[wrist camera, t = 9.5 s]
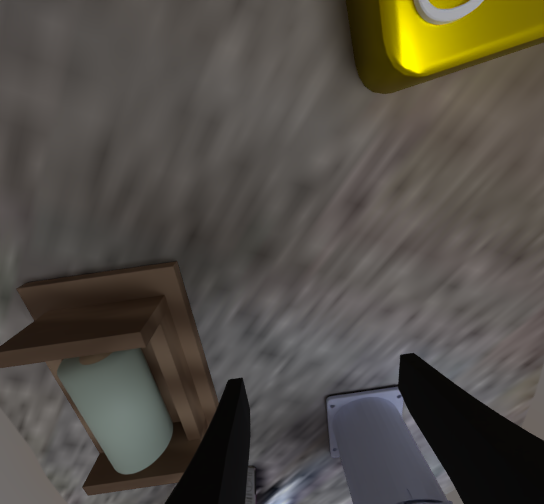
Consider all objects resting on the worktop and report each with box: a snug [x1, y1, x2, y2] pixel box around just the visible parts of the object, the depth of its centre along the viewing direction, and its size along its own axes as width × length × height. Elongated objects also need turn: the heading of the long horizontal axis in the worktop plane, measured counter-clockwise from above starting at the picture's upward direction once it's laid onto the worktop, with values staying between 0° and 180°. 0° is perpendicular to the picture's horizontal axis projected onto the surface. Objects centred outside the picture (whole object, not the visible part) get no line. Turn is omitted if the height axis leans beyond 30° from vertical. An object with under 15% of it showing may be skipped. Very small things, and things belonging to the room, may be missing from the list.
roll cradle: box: [0, 261, 219, 495], centre depth 21 cm, size 20×12×6 cm, turn 8°
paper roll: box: [57, 348, 173, 474], centre depth 20 cm, size 10×5×5 cm, turn 9°
